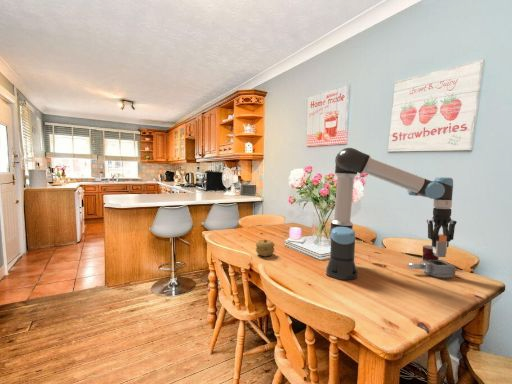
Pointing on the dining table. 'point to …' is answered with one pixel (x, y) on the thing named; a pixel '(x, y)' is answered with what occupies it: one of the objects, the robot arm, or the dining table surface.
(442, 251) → the grey orange upright block
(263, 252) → the brown round lump
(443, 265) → the grey machine vise
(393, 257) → the dining table surface
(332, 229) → the robot arm
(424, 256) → the mug
